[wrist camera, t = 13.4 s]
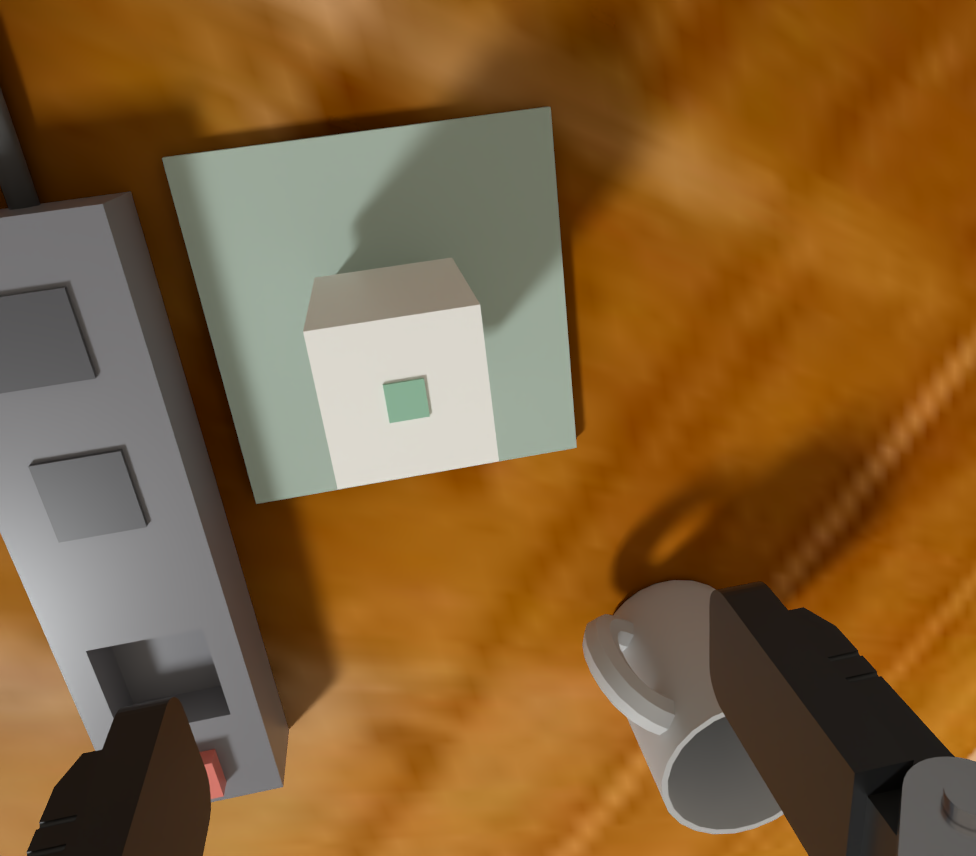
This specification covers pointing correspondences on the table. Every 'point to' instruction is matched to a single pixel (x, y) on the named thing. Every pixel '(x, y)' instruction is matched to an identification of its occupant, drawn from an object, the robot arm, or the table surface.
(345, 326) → the block
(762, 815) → the cup
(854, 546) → the table surface
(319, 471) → the rubber mat
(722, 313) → the table surface
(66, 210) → the power strip
